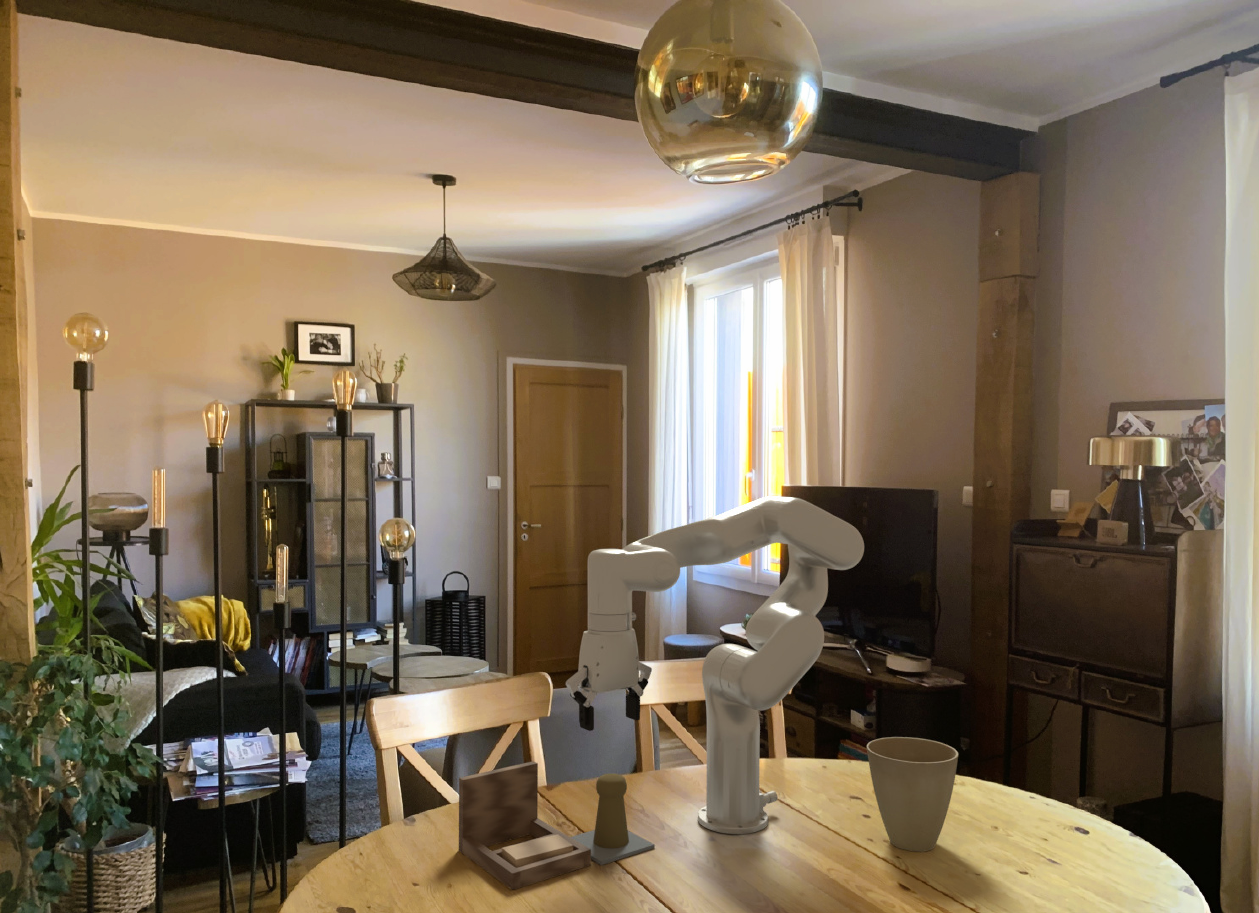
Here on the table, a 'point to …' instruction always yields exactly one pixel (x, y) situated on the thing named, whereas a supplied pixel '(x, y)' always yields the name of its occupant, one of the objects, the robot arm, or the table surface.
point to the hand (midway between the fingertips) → (610, 723)
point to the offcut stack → (536, 850)
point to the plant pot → (912, 788)
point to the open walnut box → (509, 825)
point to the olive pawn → (611, 812)
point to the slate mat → (610, 855)
